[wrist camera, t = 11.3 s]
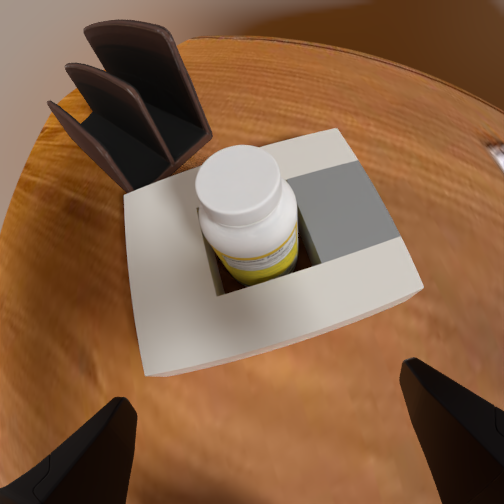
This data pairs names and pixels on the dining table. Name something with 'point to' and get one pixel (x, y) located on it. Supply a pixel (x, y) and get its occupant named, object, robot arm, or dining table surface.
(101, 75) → the letter holder
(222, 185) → the supplement bottle
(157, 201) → the socket block
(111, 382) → the dining table surface
